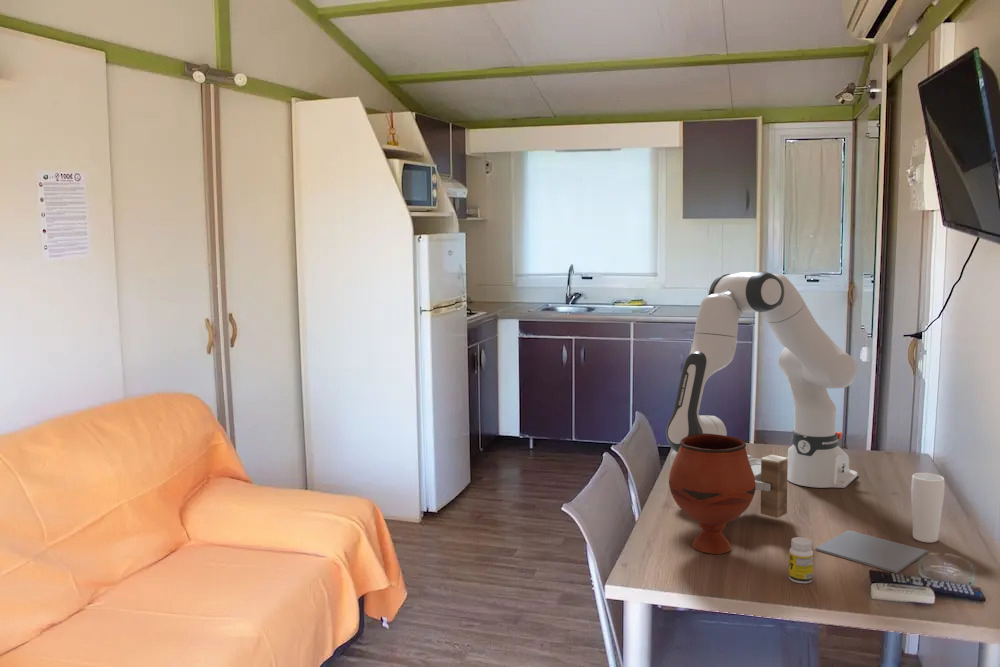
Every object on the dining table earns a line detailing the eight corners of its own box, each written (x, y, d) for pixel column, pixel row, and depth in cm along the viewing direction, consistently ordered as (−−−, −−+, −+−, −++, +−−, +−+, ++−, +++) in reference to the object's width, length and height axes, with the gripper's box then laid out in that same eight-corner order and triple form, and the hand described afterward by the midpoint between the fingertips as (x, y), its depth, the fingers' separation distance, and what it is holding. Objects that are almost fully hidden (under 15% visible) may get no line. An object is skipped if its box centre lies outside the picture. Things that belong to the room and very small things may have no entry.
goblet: (679, 527, 206) (680, 427, 202) (760, 538, 197) (763, 434, 194) (659, 555, 188) (659, 446, 185) (747, 569, 180) (749, 455, 177)
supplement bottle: (788, 573, 178) (789, 535, 176) (811, 575, 176) (813, 537, 175) (788, 582, 173) (790, 543, 172) (813, 585, 172) (814, 545, 171)
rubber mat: (848, 532, 201) (848, 530, 201) (927, 552, 187) (927, 550, 187) (815, 550, 190) (815, 547, 190) (896, 573, 177) (896, 571, 177)
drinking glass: (948, 543, 193) (951, 480, 191) (921, 545, 191) (924, 481, 190) (928, 533, 199) (931, 471, 197) (902, 535, 198) (905, 473, 196)
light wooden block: (770, 508, 210) (770, 454, 208) (786, 513, 206) (787, 457, 204) (760, 513, 207) (761, 458, 205) (777, 517, 203) (778, 461, 202)
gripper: (704, 470, 208) (754, 481, 198) (749, 452, 221) (798, 462, 211) (704, 494, 209) (754, 507, 198) (749, 475, 222) (797, 487, 212)
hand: (777, 484), depth 205 cm, fingers closed on light wooden block, 4 cm apart
